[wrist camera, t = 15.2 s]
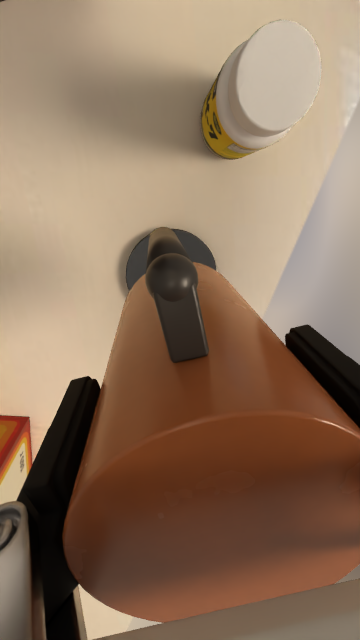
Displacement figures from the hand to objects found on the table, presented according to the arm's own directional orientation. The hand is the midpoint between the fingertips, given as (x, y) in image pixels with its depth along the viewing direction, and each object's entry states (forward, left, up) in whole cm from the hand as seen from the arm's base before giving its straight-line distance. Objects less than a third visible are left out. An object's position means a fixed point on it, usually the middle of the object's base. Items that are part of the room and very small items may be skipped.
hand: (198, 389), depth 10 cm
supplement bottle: (-7, -10, -16) cm, 20 cm away
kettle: (0, 0, -6) cm, 6 cm away
